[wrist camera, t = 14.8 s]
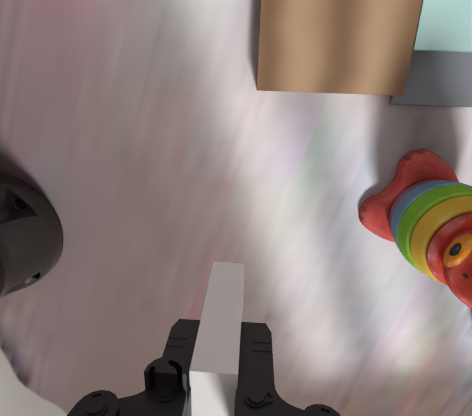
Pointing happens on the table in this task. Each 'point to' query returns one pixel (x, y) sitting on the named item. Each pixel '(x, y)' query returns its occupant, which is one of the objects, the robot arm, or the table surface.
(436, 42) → the mint green block
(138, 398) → the robot arm
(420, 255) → the stacking bear
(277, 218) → the table surface
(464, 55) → the mat
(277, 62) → the tan flat square slab
